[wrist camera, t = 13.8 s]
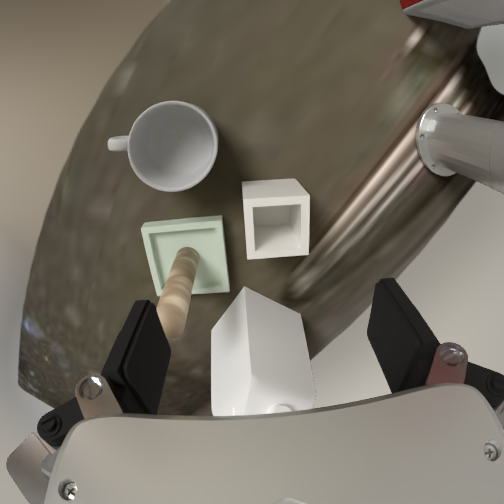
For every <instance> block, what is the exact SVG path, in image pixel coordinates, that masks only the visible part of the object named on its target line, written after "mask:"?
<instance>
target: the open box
mask: <svg viewBox="0 0 504 504" xmlns="http://www.w3.org/2000/svg"><path fill="white" fill-rule="evenodd" d="M242 193H243V207H244V220H245V234H246V247H247V259H261V258H274V257H287V256H300V255H309V223H310V195H309V194H308V193H307V192H306V191H305V189H304V188H303V187H302V186H301V185H300V184H299V182H298V181H297V180H296V179H276V180H258V181H244V182H242Z"/></svg>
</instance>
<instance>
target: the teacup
mask: <svg viewBox="0 0 504 504" xmlns="http://www.w3.org/2000/svg"><path fill="white" fill-rule="evenodd" d="M108 148H109V150H110V151H128V157H129V160H130V163H131V166H132V168H133V170H134V172H135V173H136V175H137V176H138V177H139V178H140V179H141V180H142V181H143V182H144V183H146V184H147V185H149V186H150V187H153V188H155V189H157V190H161V191H165V192H177V191H183V190H186V189H189V188H191V187H193V186H195V185H196V184H198V183H199V182H201V181H202V180H203V179H204V178H205V177H206V176H207V174H208V173H209V172H210V170H211V168H212V166H213V165H214V162H215V160H216V156H217V151H218V133H217V129H216V126H215V124H214V122H213V120H212V119H211V117H210V116H209V115H208V114H207V113H206V112H205V111H204V110H202V109H201V108H199V107H197V106H195V105H193V104H190V103H186V102H181V101H166V102H162V103H158V104H156V105H153V106H151V107H150V108H148V109H147V110H146V111H144V112H143V113H142V114H141V115H140V116H139V117H138V119H137V120H136V121H135V123H134V124H133V126H132V129H131V131H130V135H129V136H118V137H112V138H110V139H109V141H108Z"/></svg>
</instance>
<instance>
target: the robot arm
mask: <svg viewBox="0 0 504 504" xmlns="http://www.w3.org/2000/svg"><path fill="white" fill-rule="evenodd" d="M416 146H417V151H418V154H419V156H420V159H421V160H422V162H423V164H424V165H425V166H426V167H427V168H428V169H429V170H430V171H431V172H433V173H435V174H437V175H440V176H451V175H453V174H455V173H459V174H461V175H463V176H466V177H468V178H470V179H473V180H475V181H477V182H480V183H482V184H484V185H486V186H488V187H490V188H493V189H495V190H497V191H499V192H501V193H503V194H504V122H502V121H497V120H492V119H487V118H481V117H475V116H469V115H462V114H461V113H460V112H459V111H458V110H457V109H456V108H455V107H453V106H452V105H449V104H445V103H436V104H432V105H431V106H429V107H427V108H426V109H425V110H424V111H423V113H422V114H421V116H420V118H419V121H418V123H417V128H416ZM367 336H368V339H369V341H370V343H371V345H372V348H373V350H374V352H375V354H376V357H377V359H378V361H379V364H380V366H381V368H382V371H383V373H384V375H385V378H386V380H387V383H388V385H389V387H390V390H391V392H392V394H388V395H384V396H379V397H374V398H370V399H365V400H360V401H356V402H350V403H345V404H340V405H334V406H328V407H321V408H314V409H307V410H299V411H291V412H281V413H270V414H256V415H237V416H174V415H157V411H158V407H159V402H160V398H161V393H162V389H163V385H164V381H165V376H166V372H167V368H168V364H169V360H170V356H171V349H170V346H169V343H168V341H167V338H166V335H165V333H164V330H163V327H162V324H161V322H160V319H159V316H158V313H157V310H156V307H155V305H154V303H151V302H150V301H149V300H138V301H136V302H135V303H134V305H133V307H132V309H131V311H130V313H129V315H128V317H127V319H126V322H125V324H124V326H123V328H122V330H121V331H120V333H119V334H118V336H117V339H116V341H115V343H114V345H113V347H112V350H111V352H110V354H109V356H108V359H107V361H106V363H105V365H104V368H103V370H102V372H101V375H97V374H94V375H89V376H86V377H84V378H83V379H82V380H81V381H80V382H79V383H78V384H77V386H76V390H75V394H76V397H75V398H73V399H71V400H70V401H68V402H66V403H64V404H62V405H61V406H59V407H57V408H55V409H54V410H52V411H50V412H48V413H46V414H45V415H44V416H42V418H41V419H40V420H39V422H38V426H37V431H38V432H37V433H36V434H34V433H32V434H31V435H30V436H29V437H28V438H27V439H25V440H24V442H23V443H21V444H20V445H19V446H18V447H17V448H16V449H15V450H14V451H13V452H12V453H11V454H10V456H9V457H8V458H7V462H6V466H7V470H8V472H9V474H10V475H11V477H12V478H13V480H14V482H15V483H16V485H17V486H18V488H19V489H20V491H21V492H22V494H23V495H24V496H25V498H26V499H27V501H28V502H29V503H30V504H504V375H502V374H500V373H498V372H495V371H492V370H490V369H487V368H484V367H481V366H479V365H476V364H473V363H470V362H468V355H467V353H466V351H465V350H464V349H463V348H462V347H461V346H460V345H458V344H456V343H451V342H447V343H443V344H440V343H439V341H438V340H437V338H436V337H435V335H434V334H433V332H432V331H431V329H430V328H429V326H428V325H427V323H426V322H425V320H424V319H423V317H422V316H421V315H420V313H419V312H418V310H417V309H416V307H415V306H414V305H413V304H412V302H411V301H410V300H409V298H408V297H407V295H406V294H405V293H404V292H403V290H402V289H401V287H400V286H399V285H398V283H397V282H396V280H395V279H394V278H385V279H380V281H379V283H376V285H375V291H374V297H373V303H372V308H371V314H370V319H369V324H368V329H367Z"/></svg>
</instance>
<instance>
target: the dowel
mask: <svg viewBox="0 0 504 504" xmlns="http://www.w3.org/2000/svg"><path fill="white" fill-rule="evenodd" d="M198 263H199V254H198V252H197V251H196V250H195V249H193V248H191V247H183V248H181V249H179V251H178V252H177V254H176V257H175V260H174V262H173V265H172V267H171V270H170V273H169V275H168V278H167V281H166V283H165V286H164V289H163V292H162V294H161V297H160V300H159V303H158V306H157V309H156V310H157V313H158V316H159V319H160V322H161V324H162V327H163V330H164V333H165V335H166V338H176V337H179V336H180V335H182V333H183V332H184V328H185V323H186V318H187V313H188V308H189V303H190V299H191V294H192V289H193V285H194V280H195V276H196V271H197V267H198Z"/></svg>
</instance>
